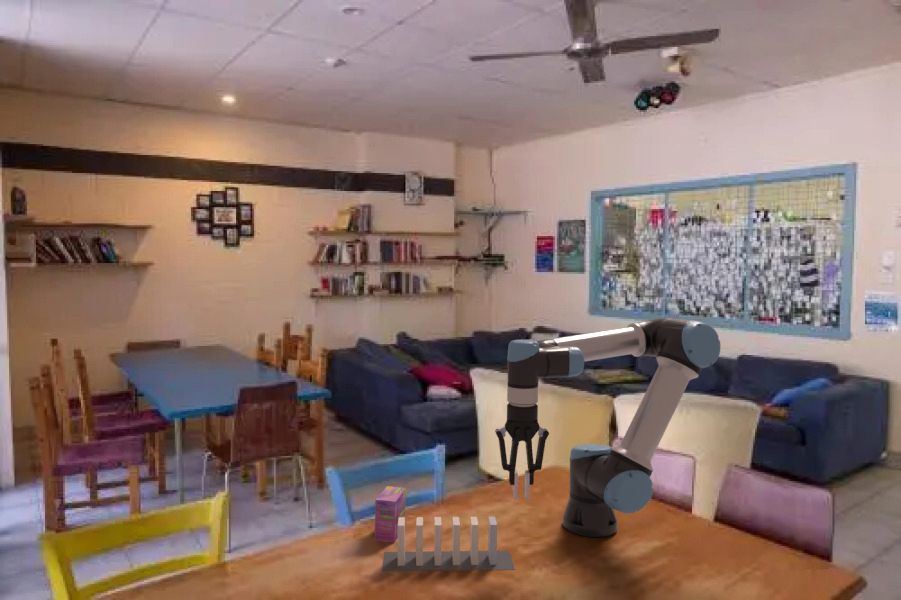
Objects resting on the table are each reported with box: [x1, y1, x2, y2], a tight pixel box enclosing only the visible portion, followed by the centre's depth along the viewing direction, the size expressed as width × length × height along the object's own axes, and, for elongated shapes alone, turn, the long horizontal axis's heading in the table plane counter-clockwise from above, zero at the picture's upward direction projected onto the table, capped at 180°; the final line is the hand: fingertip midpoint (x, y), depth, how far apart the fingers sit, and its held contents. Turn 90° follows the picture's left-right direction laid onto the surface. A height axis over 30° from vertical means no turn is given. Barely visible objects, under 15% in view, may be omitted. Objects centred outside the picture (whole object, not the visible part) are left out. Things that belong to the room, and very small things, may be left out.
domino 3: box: [433, 516, 443, 565], centre depth 156 cm, size 2×5×10 cm, turn 2°
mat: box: [381, 550, 516, 572], centre depth 157 cm, size 32×10×1 cm, turn 92°
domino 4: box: [451, 516, 461, 565], centre depth 157 cm, size 2×5×10 cm, turn 2°
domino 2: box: [415, 516, 424, 566], centre depth 156 cm, size 2×5×10 cm, turn 2°
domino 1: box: [397, 516, 406, 566], centre depth 156 cm, size 2×5×10 cm, turn 2°
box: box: [374, 485, 407, 543], centre depth 172 cm, size 10×6×12 cm, turn 168°
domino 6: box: [487, 516, 498, 565], centre depth 157 cm, size 2×5×10 cm, turn 2°
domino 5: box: [469, 516, 479, 565], centre depth 157 cm, size 2×5×10 cm, turn 2°
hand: (521, 497), depth 157 cm, fingers open, 2 cm apart
